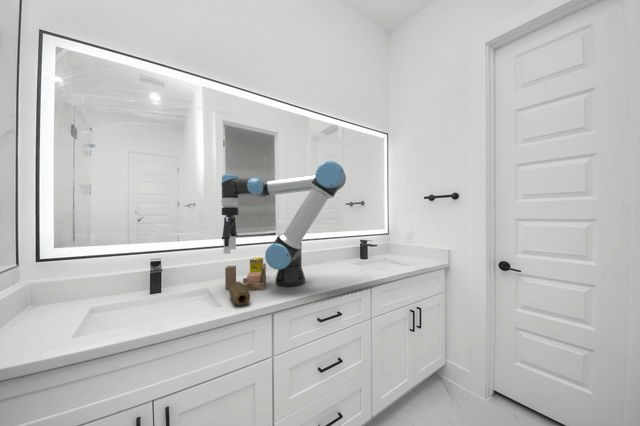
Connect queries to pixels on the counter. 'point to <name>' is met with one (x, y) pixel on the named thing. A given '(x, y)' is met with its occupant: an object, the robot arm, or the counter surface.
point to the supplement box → (256, 265)
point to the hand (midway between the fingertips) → (230, 251)
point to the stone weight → (239, 293)
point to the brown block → (231, 277)
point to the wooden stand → (257, 285)
